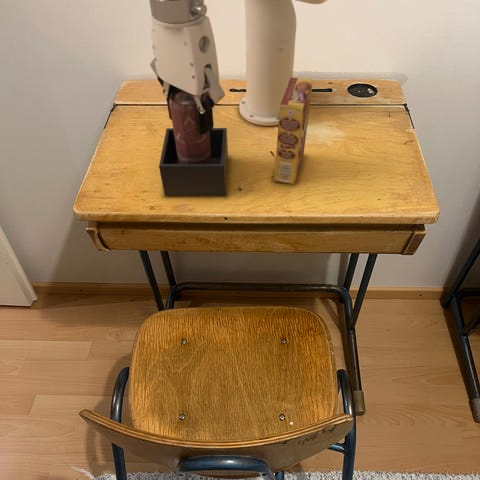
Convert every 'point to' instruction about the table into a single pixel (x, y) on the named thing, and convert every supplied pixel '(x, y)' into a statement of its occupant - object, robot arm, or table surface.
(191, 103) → the can
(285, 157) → the candy box
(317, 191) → the table surface
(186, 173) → the bin
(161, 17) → the robot arm
